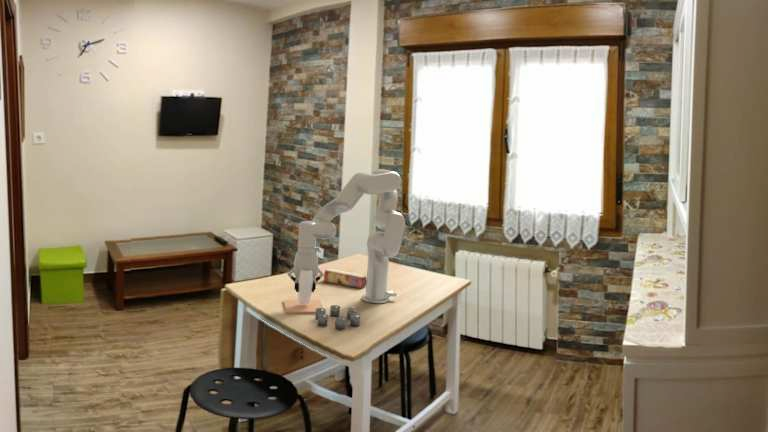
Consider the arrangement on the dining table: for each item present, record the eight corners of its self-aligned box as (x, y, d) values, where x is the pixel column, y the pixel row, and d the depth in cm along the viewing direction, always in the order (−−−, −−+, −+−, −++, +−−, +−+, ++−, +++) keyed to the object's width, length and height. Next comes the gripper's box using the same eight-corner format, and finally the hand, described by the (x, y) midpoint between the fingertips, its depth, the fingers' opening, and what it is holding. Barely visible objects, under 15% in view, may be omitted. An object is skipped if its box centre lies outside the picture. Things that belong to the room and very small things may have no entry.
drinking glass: (296, 305, 254) (298, 270, 251) (296, 300, 260) (297, 266, 258) (312, 305, 255) (314, 270, 253) (311, 300, 262) (313, 266, 259)
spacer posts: (354, 314, 255) (354, 305, 254) (362, 330, 236) (362, 320, 236) (313, 314, 251) (314, 305, 250) (319, 330, 233) (319, 320, 232)
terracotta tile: (320, 302, 268) (320, 299, 267) (324, 313, 252) (324, 311, 252) (283, 302, 264) (283, 299, 264) (285, 314, 249) (286, 311, 248)
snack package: (366, 286, 299) (367, 273, 297) (361, 289, 292) (362, 276, 291) (328, 279, 306) (329, 266, 305) (322, 282, 300) (323, 269, 299)
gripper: (326, 248, 260) (324, 289, 263) (285, 248, 256) (283, 288, 259) (328, 252, 253) (326, 294, 255) (286, 252, 249) (284, 294, 252)
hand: (304, 291), depth 257 cm, fingers closed on drinking glass, 6 cm apart
